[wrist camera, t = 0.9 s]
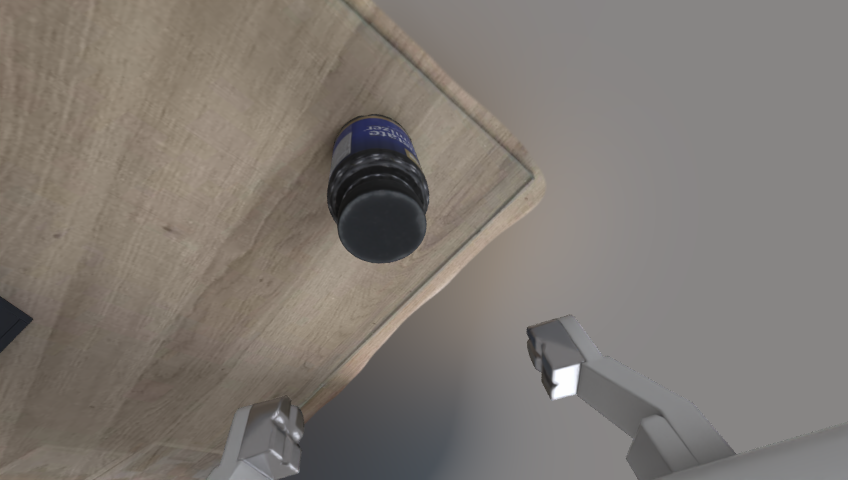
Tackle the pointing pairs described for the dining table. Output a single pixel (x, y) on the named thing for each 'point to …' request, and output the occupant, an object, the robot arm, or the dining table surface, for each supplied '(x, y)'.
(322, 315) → the dining table surface
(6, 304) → the black divided organizer
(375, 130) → the pill bottle
